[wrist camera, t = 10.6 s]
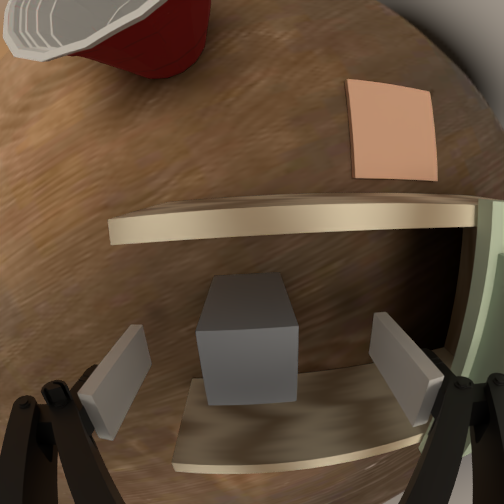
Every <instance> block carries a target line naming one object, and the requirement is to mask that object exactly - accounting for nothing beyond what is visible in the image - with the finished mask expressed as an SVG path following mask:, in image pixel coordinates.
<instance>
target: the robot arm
mask: <svg viewBox="0 0 504 504" xmlns="http://www.w3.org/2000/svg"><path fill="white" fill-rule="evenodd" d="M369 355H370V357H371V358H372V360H373V361H374V363H375V365H376V366H377V368H378V370H379V371H380V373H381V374H382V376H383V378H384V379H385V381H386V383H387V384H388V386H389V388H390V389H391V391H392V393H393V394H394V396H395V398H396V399H397V401H398V403H399V404H400V406H401V408H402V410H403V411H404V413H405V415H406V416H407V418H408V420H409V422H410V423H411V425H412V427H416V426H419V425H422V424H425V423H427V422H428V419H429V417H430V414H432V416H433V417H434V421H433V423H432V426H431V428H430V430H429V432H428V438H427V440H426V443H425V446H424V448H423V451H422V453H421V456H420V458H419V461H418V463H417V466H416V468H415V470H414V472H413V475H412V477H411V479H410V481H409V483H408V486H407V488H406V490H405V492H404V494H403V496H402V498H401V500H400V502H399V503H398V504H448V502H449V499H450V496H451V493H452V490H453V487H454V484H455V481H456V477H457V474H458V471H459V466H460V463H461V460H462V456H463V451H464V447H465V443H466V438H467V433H468V428H469V429H470V438H471V450H472V468H473V504H504V374H502V373H492V374H490V375H489V377H488V378H487V381H486V383H478V384H474V383H473V381H472V380H471V379H469V378H467V377H464V376H456V375H455V374H454V373H453V372H452V371H451V370H450V369H449V368H448V367H447V366H446V365H445V364H444V363H443V361H442V360H441V359H440V358H439V357H438V356H437V355H436V354H435V353H434V352H433V351H431V350H429V349H427V348H422V349H420V348H419V347H418V346H417V345H416V344H415V342H414V341H413V340H412V339H411V338H410V337H409V336H408V335H407V334H406V333H405V332H404V331H403V329H402V328H401V327H400V326H399V325H398V324H397V323H396V322H395V321H394V320H393V319H392V318H391V317H390V316H389V315H388V313H387V312H378V313H374V316H373V325H372V333H371V341H370V348H369ZM151 365H152V362H151V358H150V354H149V350H148V346H147V342H146V338H145V333H144V329H143V325H135V324H131V325H130V326H129V327H128V329H127V330H126V331H125V332H124V334H123V335H122V336H121V337H120V338H119V340H118V341H117V342H116V343H115V345H114V346H113V347H112V349H111V350H110V351H109V352H108V354H107V355H106V356H105V357H104V359H103V360H102V361H101V362H100V364H99V365H95V364H94V365H93V366H91V367H90V368H88V369H87V370H86V371H85V372H84V374H83V375H82V376H81V377H80V379H79V381H77V382H76V384H75V385H74V386H73V387H72V389H71V390H70V391H69V388H68V386H67V384H66V383H65V382H64V381H62V380H54V381H51V382H48V383H47V384H45V385H44V386H43V387H42V390H41V393H42V395H43V397H44V399H45V401H46V403H47V404H37V402H36V400H35V398H34V397H32V396H28V395H26V396H22V397H19V398H18V399H17V400H16V401H15V402H14V404H13V407H12V411H11V414H10V418H9V421H8V425H7V429H6V433H5V437H4V441H3V446H2V450H1V455H0V504H58V491H57V457H58V452H59V456H60V460H61V463H62V467H63V470H64V473H65V476H66V479H67V482H68V485H69V488H70V491H71V494H72V497H73V499H74V502H75V504H125V502H124V500H123V499H122V497H121V495H120V493H119V491H118V489H117V488H116V486H115V484H114V482H113V480H112V478H111V476H110V474H109V472H108V470H107V468H106V466H105V464H104V461H103V459H102V457H101V455H100V453H99V450H98V448H97V446H96V443H95V441H94V439H93V437H92V433H93V431H94V429H95V431H96V433H97V435H98V437H99V438H103V439H107V440H112V441H113V440H114V438H115V436H116V434H117V432H118V430H119V428H120V426H121V424H122V422H123V420H124V418H125V416H126V414H127V412H128V410H129V408H130V406H131V404H132V402H133V400H134V398H135V396H136V394H137V392H138V390H139V388H140V386H141V384H142V382H143V381H144V379H145V377H146V375H147V373H148V371H149V369H150V367H151Z"/></svg>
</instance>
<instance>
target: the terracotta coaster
mask: <svg viewBox="0 0 504 504" xmlns="http://www.w3.org/2000/svg"><path fill="white" fill-rule="evenodd" d="M344 82H345V90H346V99H347V108H348V118H349V130H350V144H351V160H352V178H378V179H407V180H427V181H438V175H437V153H436V139H435V128H434V119H433V111H432V104H431V97H430V92H428V91H423V90H418V89H413V88H408V87H403V86H397V85H391V84H385V83H378V82H370V81H362V80H353V79H347V80H346V81H344Z"/></svg>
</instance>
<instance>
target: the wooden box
mask: <svg viewBox="0 0 504 504" xmlns="http://www.w3.org/2000/svg"><path fill="white" fill-rule="evenodd" d="M478 199H489V200H497V199H491V198H484V197H477V196H467V195H448V194H423V193H307V194H279V195H258V196H240V197H225V198H211V199H198V200H186V201H175V202H166V203H162V204H159V205H155V206H152V207H148V208H145V209H141V210H138V211H134V212H131V213H127V214H124V215H121V216H117V217H114V218H111V219H108V228H109V235H110V243H111V245H120V244H133V243H146V242H161V241H175V240H190V239H205V238H221V237H238V236H255V235H273V234H292V233H312V232H333V231H356V230H380V229H408V228H439V227H463V236H462V248H461V258H460V266H459V274H458V281H457V288H456V294H455V300H454V305H453V310H452V315H451V320H450V325H449V329H448V333H447V338H446V342H445V346H444V347H443V348H439V349H435V350H432V351H433V352H434V353H435V354H436V355H437V356H438V357H439V358H440V359H441V360H442V361H443V363H444V364H445V365H446V366H447V367H448V368H449V369H451V366H452V363H453V359H454V356H455V353H456V349H457V346H458V342H459V338H460V334H461V330H462V326H463V322H464V317H465V313H466V308H467V303H468V298H469V292H470V287H471V280H472V274H473V267H474V259H475V250H476V239H477V225H478ZM432 418H433V416H432V414H430V417H429V419H428V422H427V423H425V424H422V425H419V426H416V427H412V425H411V423H410V422H409V420H408V418H407V416H406V415H405V413H404V411H403V410H402V408H401V406H400V404H399V403H398V401H397V399H396V398H395V396H394V394H393V393H392V391H391V389H390V388H389V386H388V384H387V383H386V381H385V379H384V378H383V376H382V374H381V373H380V371H379V370H378V368H377V366H376V365H375V363H371V364H366V365H360V366H353V367H347V368H340V369H333V370H326V371H318V372H309V373H299V374H298V377H297V401H293V402H282V403H269V404H252V405H208V401H207V396H206V391H205V385H204V380H203V378H192V381H191V385H190V389H189V393H188V397H187V401H186V405H185V409H184V413H183V417H182V421H181V425H180V429H179V433H178V438H177V442H176V446H175V450H174V455H173V459H172V465H173V467H174V469H175V471H177V472H190V473H210V474H249V473H269V472H282V471H292V470H301V469H309V468H316V467H322V466H328V465H334V464H339V463H344V462H349V461H354V460H359V459H363V458H367V457H371V456H375V455H379V454H383V453H386V452H390V451H393V450H397V449H400V448H403V447H406V446H409V445H412V444H415V443H418V442H421V441H422V440H423V438H424V435H425V433H426V431H427V429H428V427H429V424H430V422H431V420H432Z"/></svg>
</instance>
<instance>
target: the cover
mask: <svg viewBox="0 0 504 504" xmlns="http://www.w3.org/2000/svg"><path fill="white" fill-rule="evenodd" d="M450 370H451V371H452V372H453V373H454V374H455V375H456V376H464V377H467V378H469V379H471V380H472V381H473V383H474V384H478V383H486V381H487V378H488V377H489V375H490V374H492V373H502V374H504V200H489V199H478V225H477V239H476V250H475V259H474V267H473V274H472V280H471V287H470V292H469V298H468V303H467V308H466V313H465V317H464V322H463V326H462V330H461V334H460V338H459V342H458V346H457V349H456V353H455V356H454V359H453V363H452V366H451V369H450ZM433 421H434V417H433V418H432V420H431V422H430V424H429V427H428V429H427V431H426V433H425V435H424V438H423V440H422V442H421V444H420V446H419V450H420V452H421V453H422V451H423V448H424V446H425V443H426V440H427V438H428V432H429V430H430V428H431V426H432V423H433ZM470 453H472V450H471V438H470V429H469V428H468V433H467V438H466V443H465V447H464V451H463V456H462V457H464V456H465V455H468V454H470Z"/></svg>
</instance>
